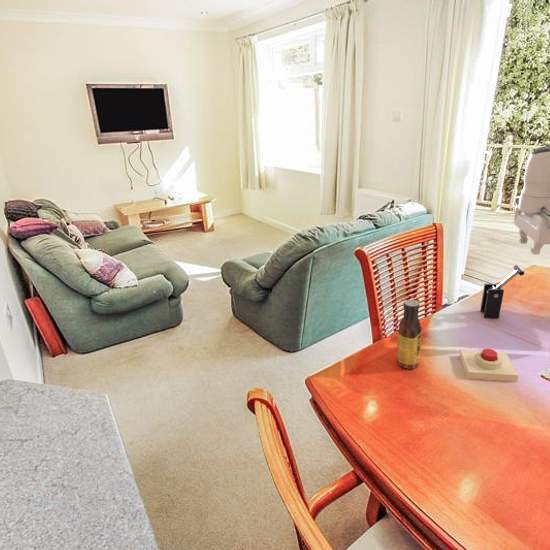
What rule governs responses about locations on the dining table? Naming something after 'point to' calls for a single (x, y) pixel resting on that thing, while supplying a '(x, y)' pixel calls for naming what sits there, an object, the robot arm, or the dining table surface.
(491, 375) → the control block
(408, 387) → the dining table surface
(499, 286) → the lever
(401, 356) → the sauce bottle
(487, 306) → the bracket
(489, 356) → the button
